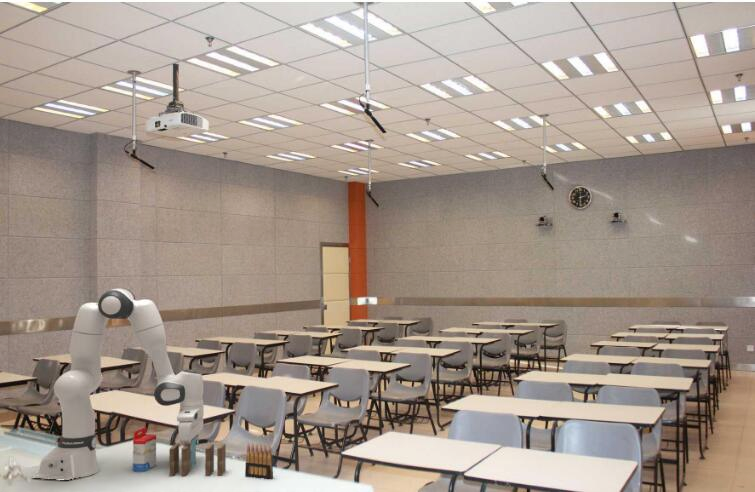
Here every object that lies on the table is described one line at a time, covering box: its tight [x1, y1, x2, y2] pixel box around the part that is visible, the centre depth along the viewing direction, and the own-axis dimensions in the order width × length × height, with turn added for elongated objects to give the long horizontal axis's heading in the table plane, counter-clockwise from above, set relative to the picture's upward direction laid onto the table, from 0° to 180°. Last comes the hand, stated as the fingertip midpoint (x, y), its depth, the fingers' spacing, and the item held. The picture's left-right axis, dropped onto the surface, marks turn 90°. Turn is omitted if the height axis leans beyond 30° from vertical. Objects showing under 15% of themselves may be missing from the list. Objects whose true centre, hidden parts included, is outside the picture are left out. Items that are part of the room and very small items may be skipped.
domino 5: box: [216, 443, 227, 477], centre depth 235 cm, size 2×6×10 cm, turn 0°
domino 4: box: [204, 443, 215, 477], centre depth 235 cm, size 2×6×10 cm, turn 0°
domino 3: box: [190, 437, 197, 468], centre depth 245 cm, size 2×6×10 cm, turn 0°
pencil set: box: [244, 442, 274, 480], centre depth 230 cm, size 11×2×12 cm, turn 70°
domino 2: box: [180, 444, 192, 477], centre depth 235 cm, size 2×6×10 cm, turn 0°
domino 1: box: [168, 443, 180, 477], centre depth 235 cm, size 2×6×10 cm, turn 0°
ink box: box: [132, 426, 157, 473], centre depth 242 cm, size 8×5×15 cm, turn 168°
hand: (192, 447), depth 245 cm, fingers open, 8 cm apart
